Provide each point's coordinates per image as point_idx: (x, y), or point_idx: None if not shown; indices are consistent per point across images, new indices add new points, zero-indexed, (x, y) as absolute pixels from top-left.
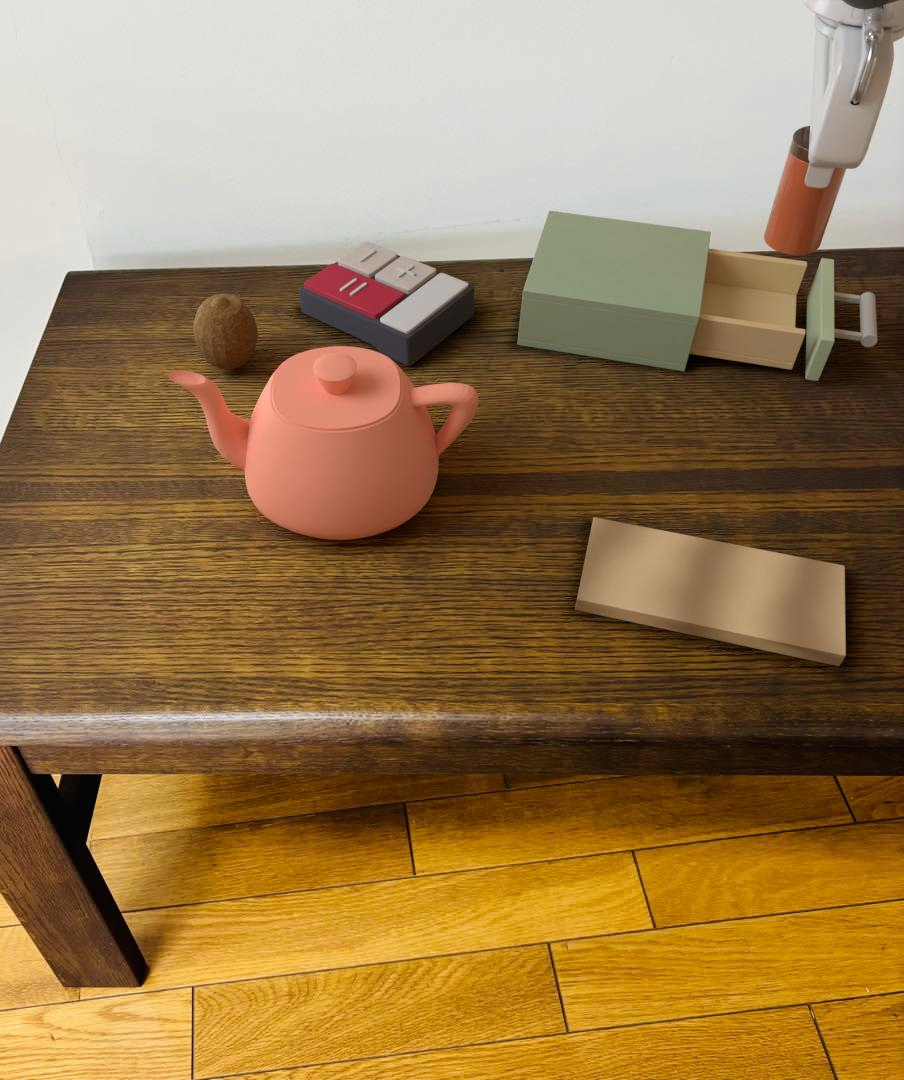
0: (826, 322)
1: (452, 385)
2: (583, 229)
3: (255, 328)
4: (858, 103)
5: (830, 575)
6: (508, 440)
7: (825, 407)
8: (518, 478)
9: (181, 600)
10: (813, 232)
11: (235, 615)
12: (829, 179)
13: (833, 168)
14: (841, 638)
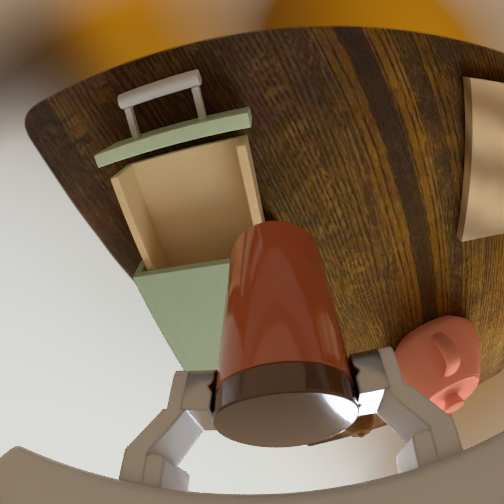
0: (215, 128)
1: (453, 368)
2: (196, 356)
3: (357, 417)
4: (260, 499)
5: (479, 88)
6: (392, 300)
7: (274, 91)
8: (422, 284)
9: (481, 351)
10: (317, 258)
11: (489, 336)
12: (396, 360)
13: (404, 383)
14: None
